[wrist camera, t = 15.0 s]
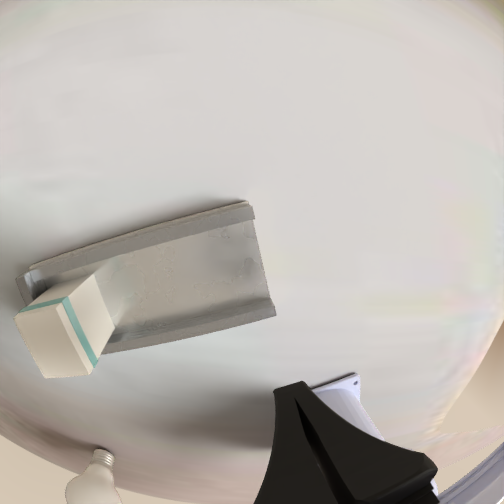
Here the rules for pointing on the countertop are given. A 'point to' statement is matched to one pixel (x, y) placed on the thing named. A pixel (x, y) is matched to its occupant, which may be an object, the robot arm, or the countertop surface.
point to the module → (66, 328)
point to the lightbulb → (94, 482)
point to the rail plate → (169, 277)
